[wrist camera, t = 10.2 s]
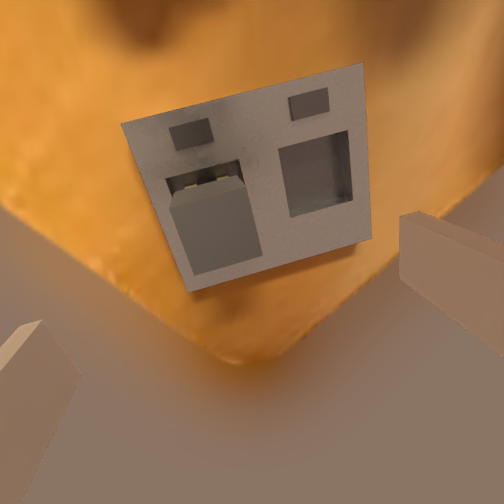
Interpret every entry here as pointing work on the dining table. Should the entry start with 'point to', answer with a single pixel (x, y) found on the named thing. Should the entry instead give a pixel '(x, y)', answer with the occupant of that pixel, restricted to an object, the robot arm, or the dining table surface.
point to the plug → (215, 224)
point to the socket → (268, 165)
